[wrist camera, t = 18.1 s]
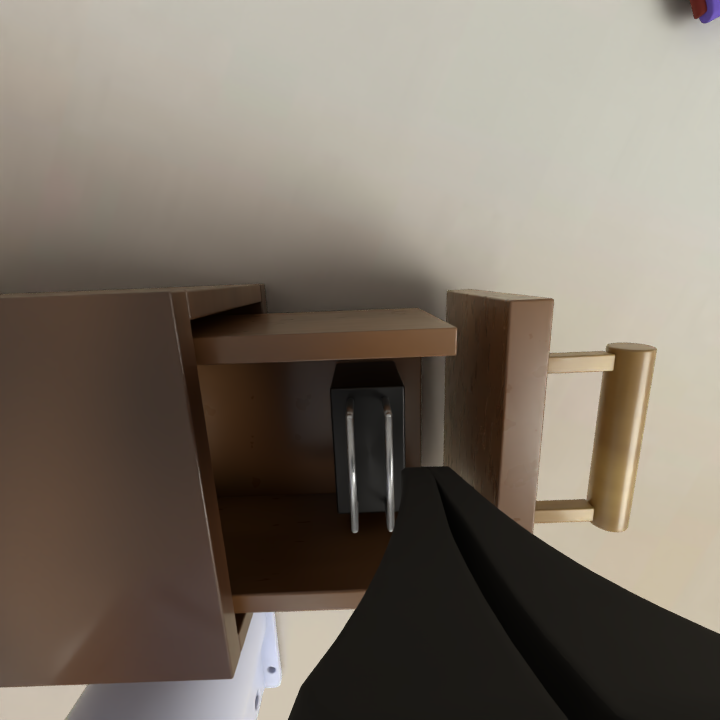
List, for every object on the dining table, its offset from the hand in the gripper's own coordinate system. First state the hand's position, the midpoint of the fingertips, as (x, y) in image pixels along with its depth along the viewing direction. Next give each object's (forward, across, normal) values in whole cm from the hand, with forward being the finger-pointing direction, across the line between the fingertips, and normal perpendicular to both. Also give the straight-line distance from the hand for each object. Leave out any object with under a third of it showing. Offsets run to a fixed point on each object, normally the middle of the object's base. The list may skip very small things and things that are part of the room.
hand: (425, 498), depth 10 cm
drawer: (+8, +1, 0) cm, 8 cm away
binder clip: (+6, +2, 0) cm, 7 cm away
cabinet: (+8, +13, 0) cm, 16 cm away
